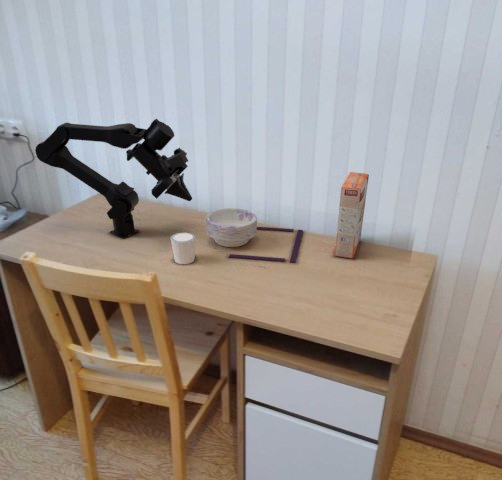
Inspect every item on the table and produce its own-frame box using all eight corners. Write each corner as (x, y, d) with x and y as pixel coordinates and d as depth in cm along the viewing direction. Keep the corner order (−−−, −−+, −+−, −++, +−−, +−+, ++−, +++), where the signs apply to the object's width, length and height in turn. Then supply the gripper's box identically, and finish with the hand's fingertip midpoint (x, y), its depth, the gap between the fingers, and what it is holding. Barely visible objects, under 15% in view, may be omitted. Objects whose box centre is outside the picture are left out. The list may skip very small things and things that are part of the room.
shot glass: (172, 254, 154) (170, 232, 150) (196, 253, 155) (195, 231, 151) (171, 265, 148) (169, 242, 145) (196, 264, 149) (195, 241, 145)
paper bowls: (264, 235, 165) (265, 211, 161) (243, 255, 154) (243, 230, 149) (221, 227, 171) (220, 204, 167) (197, 246, 159) (196, 221, 155)
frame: (228, 257, 152) (228, 256, 152) (243, 226, 171) (243, 225, 171) (295, 262, 150) (295, 261, 149) (302, 231, 168) (302, 229, 168)
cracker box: (354, 259, 151) (362, 188, 140) (333, 256, 153) (339, 186, 142) (362, 240, 162) (370, 172, 151) (342, 237, 164) (348, 170, 153)
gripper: (158, 151, 142) (200, 193, 146) (178, 133, 158) (216, 172, 162) (133, 178, 147) (175, 218, 151) (156, 158, 163) (193, 195, 167)
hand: (191, 199), depth 158 cm, fingers closed
